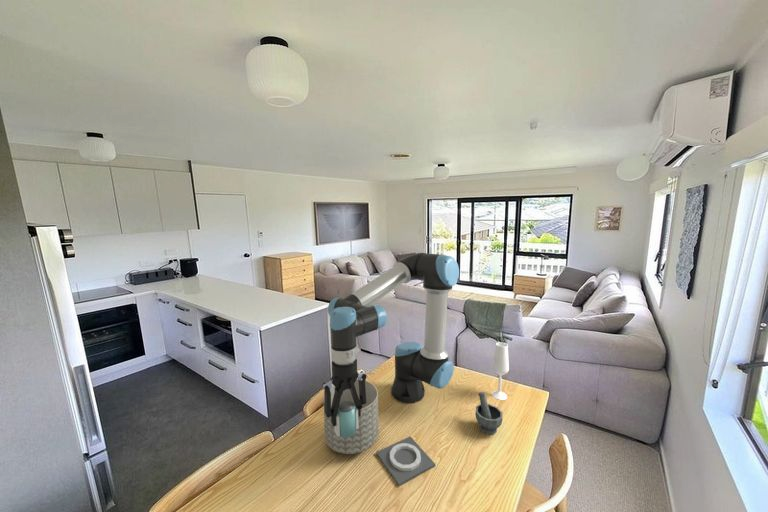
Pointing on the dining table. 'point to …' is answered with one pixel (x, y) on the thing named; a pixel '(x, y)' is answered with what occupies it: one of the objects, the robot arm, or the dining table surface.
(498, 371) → the champagne flute
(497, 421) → the mortar and pestle
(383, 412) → the dining table surface
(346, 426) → the teal and grey peg
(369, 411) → the planter
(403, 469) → the holder
